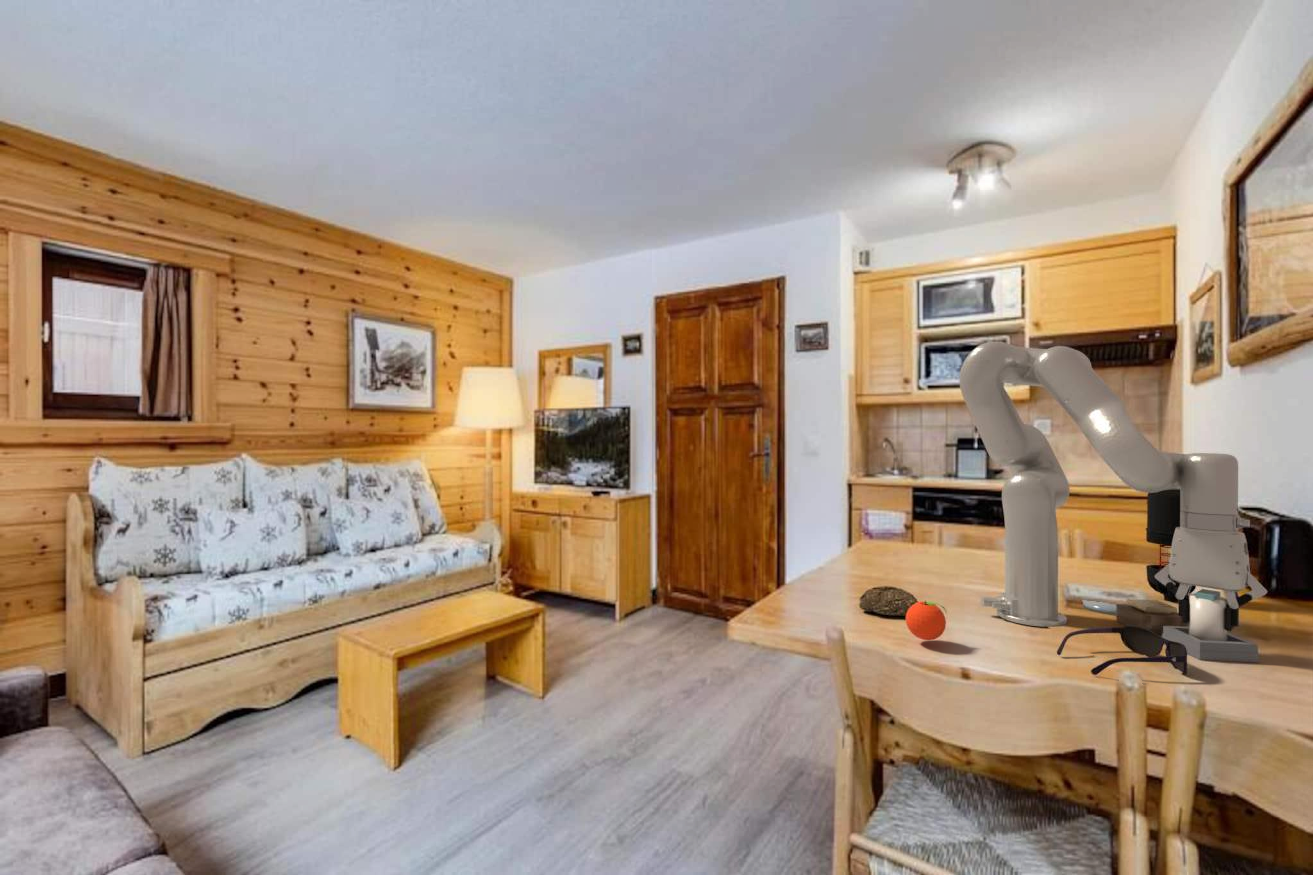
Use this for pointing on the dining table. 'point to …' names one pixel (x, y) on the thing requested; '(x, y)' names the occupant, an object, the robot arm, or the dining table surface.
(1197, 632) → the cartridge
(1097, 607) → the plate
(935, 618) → the clementine
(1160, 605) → the button
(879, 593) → the dark brown domed lump
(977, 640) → the dining table surface
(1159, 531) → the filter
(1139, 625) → the button housing
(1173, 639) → the socket
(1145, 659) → the sunglasses
